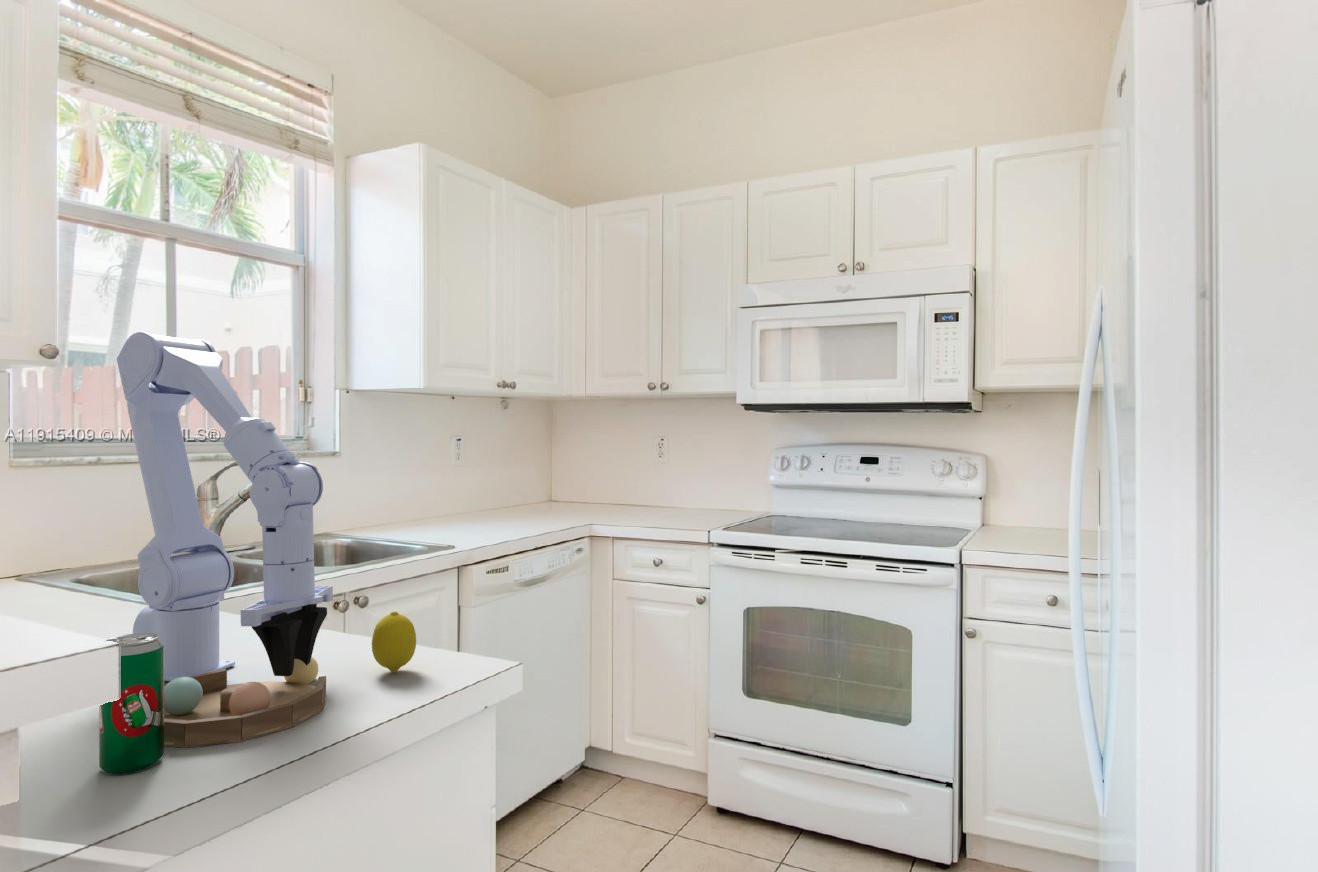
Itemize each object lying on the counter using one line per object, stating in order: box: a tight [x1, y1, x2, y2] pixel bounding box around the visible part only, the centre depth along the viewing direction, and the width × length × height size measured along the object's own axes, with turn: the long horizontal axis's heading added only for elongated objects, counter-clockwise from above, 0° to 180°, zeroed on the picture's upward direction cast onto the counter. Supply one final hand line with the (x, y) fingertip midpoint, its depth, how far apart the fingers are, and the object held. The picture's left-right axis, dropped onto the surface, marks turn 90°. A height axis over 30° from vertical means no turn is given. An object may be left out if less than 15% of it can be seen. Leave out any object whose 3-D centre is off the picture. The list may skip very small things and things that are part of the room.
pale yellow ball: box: [283, 656, 319, 685], centre depth 98 cm, size 4×4×4 cm
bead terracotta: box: [229, 681, 271, 716], centre depth 84 cm, size 4×4×4 cm
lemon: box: [371, 611, 417, 673], centre depth 102 cm, size 6×6×8 cm
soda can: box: [98, 633, 165, 776], centre depth 73 cm, size 5×5×12 cm
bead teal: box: [164, 677, 203, 715], centre depth 85 cm, size 4×4×4 cm
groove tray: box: [164, 668, 327, 749], centre depth 87 cm, size 19×19×2 cm
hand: (291, 671), depth 96 cm, fingers open, 3 cm apart
